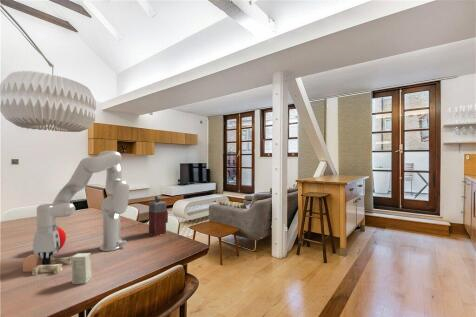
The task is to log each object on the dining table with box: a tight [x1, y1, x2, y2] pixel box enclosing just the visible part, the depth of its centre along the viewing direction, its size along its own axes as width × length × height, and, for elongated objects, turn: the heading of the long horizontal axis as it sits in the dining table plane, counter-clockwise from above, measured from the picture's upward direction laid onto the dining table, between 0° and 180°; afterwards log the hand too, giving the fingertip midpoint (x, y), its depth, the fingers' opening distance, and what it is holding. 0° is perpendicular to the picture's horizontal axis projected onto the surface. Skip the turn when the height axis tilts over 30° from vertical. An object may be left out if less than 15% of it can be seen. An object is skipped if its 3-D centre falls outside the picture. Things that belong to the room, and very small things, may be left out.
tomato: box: [56, 227, 67, 250], centre depth 141 cm, size 13×11×14 cm
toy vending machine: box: [148, 195, 169, 237], centre depth 172 cm, size 9×11×28 cm
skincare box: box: [71, 252, 92, 285], centre depth 106 cm, size 6×4×12 cm
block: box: [22, 254, 42, 273], centre depth 118 cm, size 6×6×6 cm
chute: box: [31, 254, 75, 276], centre depth 119 cm, size 11×14×3 cm
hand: (46, 264), depth 118 cm, fingers closed
